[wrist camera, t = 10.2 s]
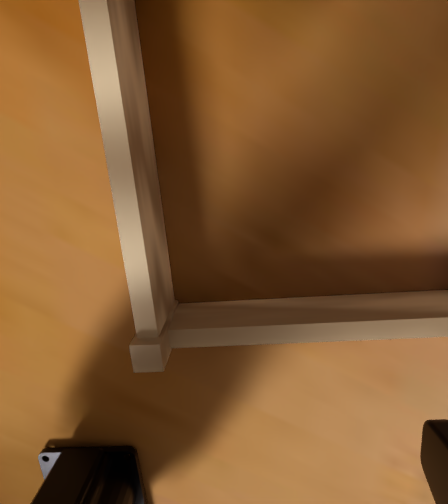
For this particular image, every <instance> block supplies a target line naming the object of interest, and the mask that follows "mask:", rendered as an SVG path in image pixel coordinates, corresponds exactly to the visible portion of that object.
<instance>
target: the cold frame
mask: <svg viewBox="0 0 448 504" xmlns="http://www.w3.org/2000/svg"><path fill="white" fill-rule="evenodd" d="M79 6H80V12H81V17H82V23H83V29H84V35H85V40H86V46H87V52H88V58H89V64H90V69H91V75H92V81H93V87H94V92H95V98H96V104H97V110H98V116H99V121H100V127H101V133H102V139H103V144H104V150H105V156H106V162H107V168H108V173H109V179H110V185H111V191H112V196H113V202H114V208H115V214H116V220H117V225H118V231H119V237H120V243H121V248H122V254H123V260H124V266H125V272H126V277H127V283H128V289H129V295H130V300H131V306H132V312H133V318H134V324H135V329H136V334H135V336H134V337H133V339H132V341H131V343H130V344H129V349H130V355H131V360H132V366H133V371H134V373H138V372H164V370H165V367H166V364H167V361H168V359H169V356H170V353H171V350H172V348H190V347H214V346H238V345H262V344H286V343H310V342H334V341H358V340H382V339H406V338H430V337H448V290H431V291H412V292H393V293H373V294H354V295H335V296H316V297H296V298H277V299H258V300H238V301H219V302H200V303H181V304H179V302H178V300H175V298H174V291H173V283H172V276H171V269H170V261H169V254H168V246H167V239H166V231H165V224H164V216H163V209H162V202H161V194H160V187H159V179H158V172H157V164H156V157H155V150H154V142H153V135H152V127H151V120H150V112H149V105H148V98H147V90H146V83H145V75H144V68H143V60H142V53H141V45H140V38H139V31H138V23H137V16H136V8H135V1H134V0H79Z"/></svg>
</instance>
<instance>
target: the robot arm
mask: <svg viewBox="0 0 448 504" xmlns="http://www.w3.org/2000/svg"><path fill="white" fill-rule="evenodd" d="M127 454H128V455H127ZM420 457H421V464H422V468H423V471H424V474H425V476H426V479H427V482H428V484H429V487H430V490H431V492H432V495H433V497H434V500H435V503H436V504H448V420H446V419H442V420H427V421H425V423H424V425H423V432H422V443H421V456H420ZM38 460H39V463H40V467H41V470H42V473H43V477H44V482H43V484H42V485H41V487H40V489H39V490H38V492H37V494H36V495H35V497H34V499H33V500H32V502H31V504H147V501H146V495H145V490H144V485H143V480H142V475H141V470H140V464H139V459H138V454H137V451H136V449H135V448H133V447H131V446H113V447H62V448H44V449H43V450H42V451H41V453H40V454H39V456H38Z"/></svg>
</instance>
